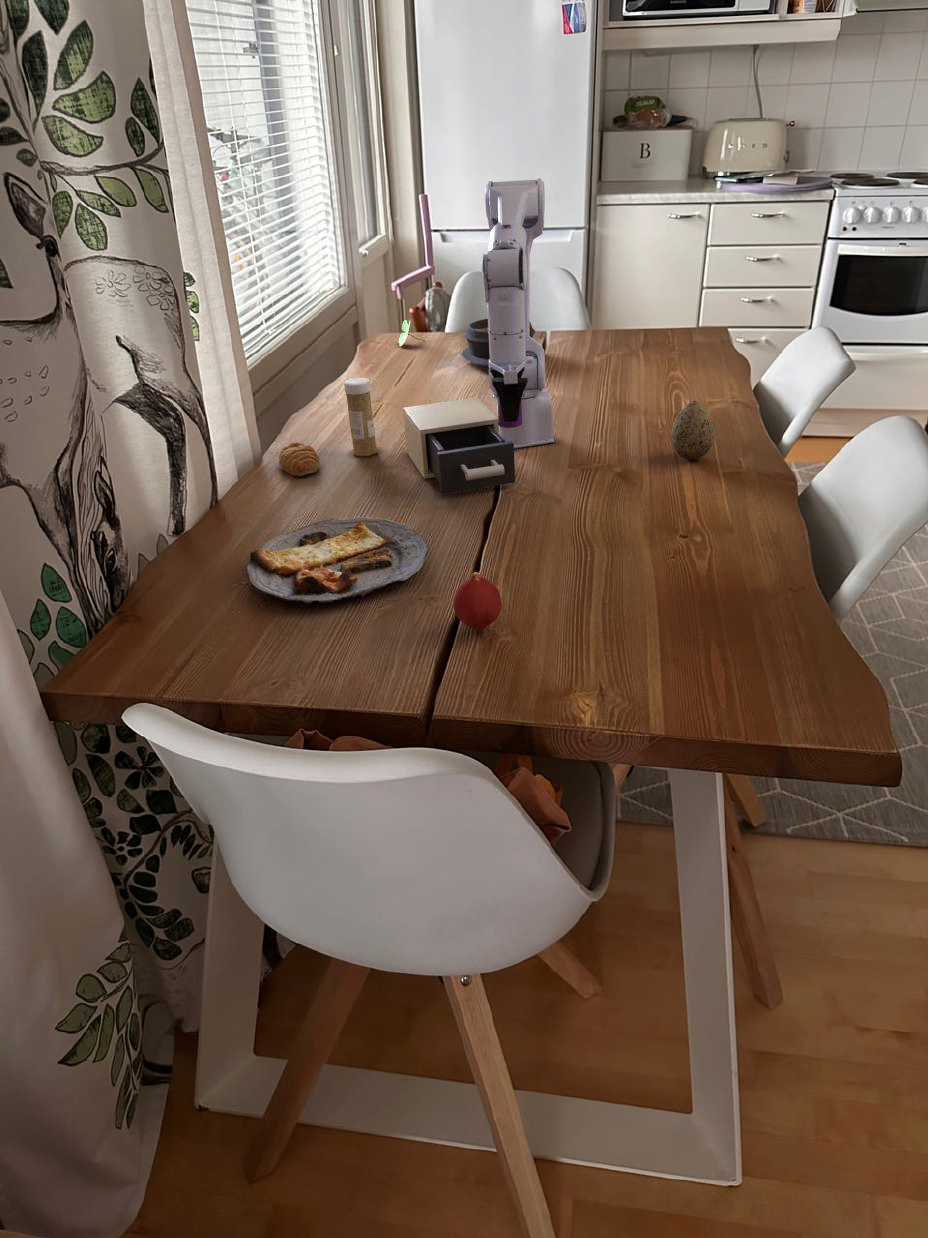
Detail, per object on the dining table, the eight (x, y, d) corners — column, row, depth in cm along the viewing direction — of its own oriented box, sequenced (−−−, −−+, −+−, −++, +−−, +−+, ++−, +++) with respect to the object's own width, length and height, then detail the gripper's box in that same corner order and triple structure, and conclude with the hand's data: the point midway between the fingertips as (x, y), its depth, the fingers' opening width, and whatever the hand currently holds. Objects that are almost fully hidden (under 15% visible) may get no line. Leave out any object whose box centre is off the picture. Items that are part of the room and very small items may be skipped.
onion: (453, 620, 116) (449, 562, 112) (499, 615, 116) (496, 558, 112) (457, 644, 110) (453, 585, 106) (505, 639, 111) (502, 580, 107)
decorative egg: (661, 460, 158) (664, 403, 153) (684, 448, 163) (687, 392, 158) (698, 468, 154) (703, 410, 149) (720, 456, 158) (725, 398, 154)
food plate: (277, 630, 116) (272, 605, 114) (228, 561, 134) (224, 539, 132) (454, 578, 125) (452, 554, 124) (386, 520, 143) (384, 499, 142)
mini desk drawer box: (500, 466, 160) (498, 418, 156) (424, 478, 158) (420, 430, 153) (478, 442, 172) (476, 397, 168) (407, 453, 169) (403, 407, 165)
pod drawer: (524, 493, 147) (523, 452, 144) (449, 505, 145) (446, 464, 141) (493, 458, 162) (491, 420, 158) (424, 468, 159) (420, 430, 156)
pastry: (328, 473, 163) (325, 452, 161) (291, 481, 160) (287, 460, 159) (312, 457, 170) (309, 437, 168) (276, 465, 168) (273, 445, 166)
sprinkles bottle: (381, 453, 170) (374, 380, 164) (360, 459, 168) (351, 385, 161) (370, 446, 174) (361, 375, 167) (348, 452, 172) (339, 380, 165)
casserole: (539, 372, 211) (539, 334, 206) (458, 375, 212) (456, 338, 208) (538, 344, 232) (538, 310, 228) (465, 348, 234) (463, 314, 230)
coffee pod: (524, 418, 154) (524, 387, 152) (527, 428, 150) (526, 396, 147) (493, 420, 154) (492, 389, 152) (495, 430, 150) (493, 399, 147)
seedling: (416, 361, 243) (394, 351, 240) (419, 337, 247) (398, 326, 243) (429, 347, 238) (407, 337, 235) (433, 323, 241) (411, 312, 238)
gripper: (536, 340, 138) (538, 428, 145) (528, 319, 151) (530, 400, 158) (489, 343, 138) (493, 431, 145) (485, 321, 151) (489, 403, 158)
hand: (509, 415), depth 151 cm, fingers closed on coffee pod, 5 cm apart
